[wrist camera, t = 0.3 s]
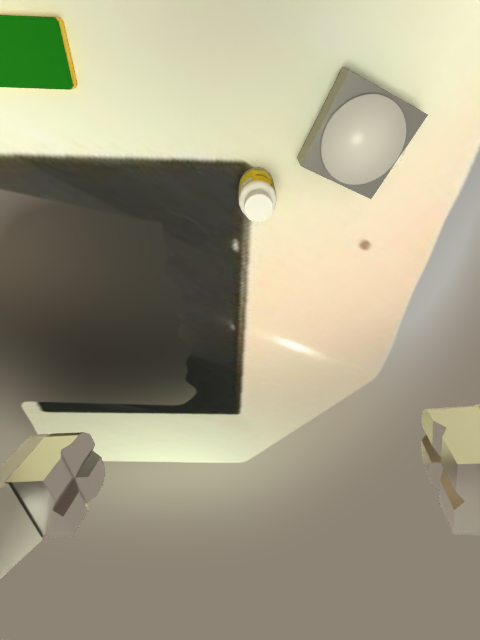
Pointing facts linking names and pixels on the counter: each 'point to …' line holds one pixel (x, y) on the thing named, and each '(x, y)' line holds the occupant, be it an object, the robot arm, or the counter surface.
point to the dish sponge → (35, 53)
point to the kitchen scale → (359, 134)
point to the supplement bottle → (257, 194)
